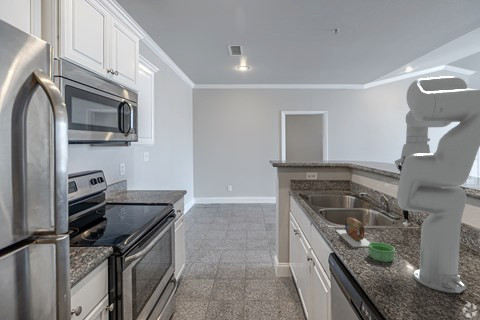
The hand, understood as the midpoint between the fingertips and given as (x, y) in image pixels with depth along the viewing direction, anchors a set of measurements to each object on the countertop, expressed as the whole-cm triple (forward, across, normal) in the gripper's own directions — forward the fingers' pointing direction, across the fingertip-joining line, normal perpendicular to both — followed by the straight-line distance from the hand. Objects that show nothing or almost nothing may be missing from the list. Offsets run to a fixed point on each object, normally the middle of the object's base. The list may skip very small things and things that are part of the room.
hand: (414, 180), depth 109 cm
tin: (+28, +22, -8) cm, 36 cm away
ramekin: (+29, +20, +12) cm, 37 cm away
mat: (+28, +22, -8) cm, 37 cm away
